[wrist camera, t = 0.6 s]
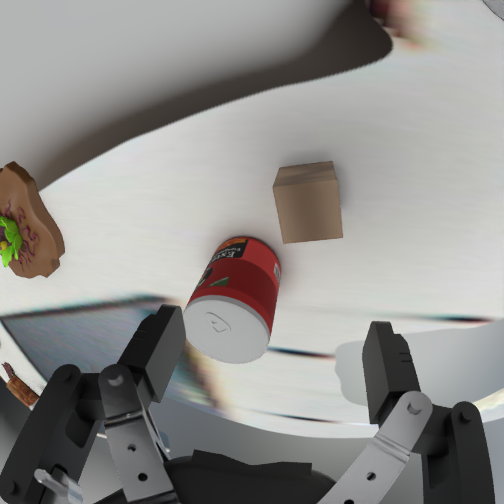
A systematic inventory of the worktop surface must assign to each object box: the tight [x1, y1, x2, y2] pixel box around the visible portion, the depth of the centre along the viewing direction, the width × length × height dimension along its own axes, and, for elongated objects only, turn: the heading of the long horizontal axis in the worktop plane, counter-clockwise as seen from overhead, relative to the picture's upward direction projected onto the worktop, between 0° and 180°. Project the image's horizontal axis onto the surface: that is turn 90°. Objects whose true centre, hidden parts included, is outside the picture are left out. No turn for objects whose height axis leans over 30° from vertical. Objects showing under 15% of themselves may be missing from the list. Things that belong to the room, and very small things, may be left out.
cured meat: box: [2, 363, 39, 408], centre depth 79 cm, size 18×25×7 cm
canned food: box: [183, 237, 281, 364], centre depth 30 cm, size 8×8×11 cm
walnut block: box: [273, 161, 343, 244], centre depth 26 cm, size 5×5×6 cm
